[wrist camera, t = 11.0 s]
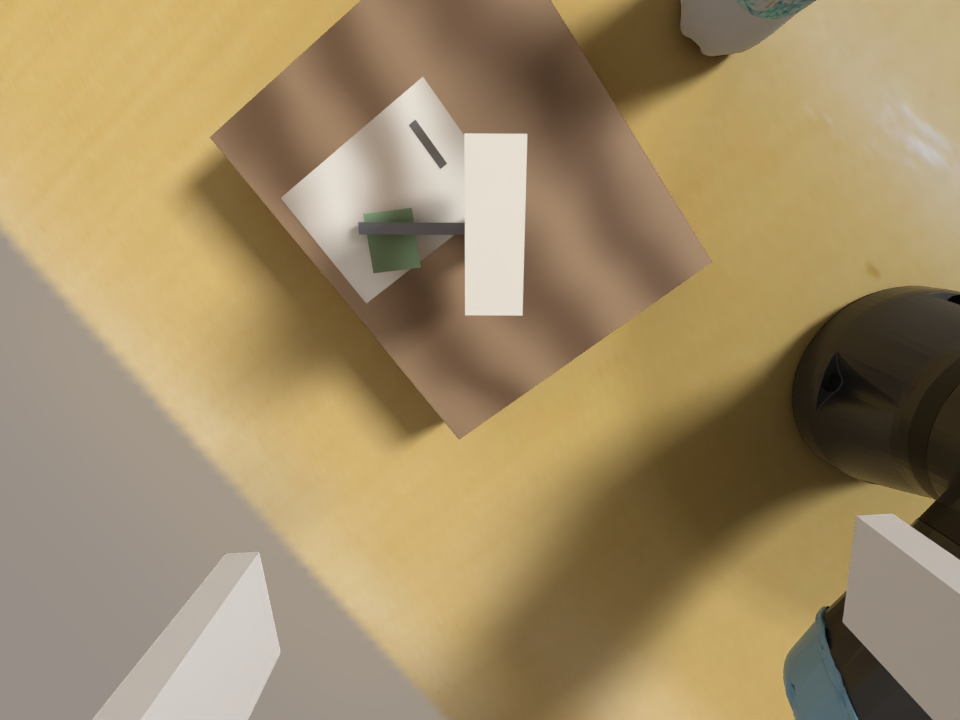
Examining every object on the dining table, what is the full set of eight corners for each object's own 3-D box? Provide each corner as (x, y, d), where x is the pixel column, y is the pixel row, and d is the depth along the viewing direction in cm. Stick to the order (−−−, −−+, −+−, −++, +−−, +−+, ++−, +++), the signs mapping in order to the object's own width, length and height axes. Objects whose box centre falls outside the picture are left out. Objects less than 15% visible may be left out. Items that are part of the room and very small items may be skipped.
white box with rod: (357, 167, 29) (290, 132, 19) (509, 167, 29) (527, 133, 19) (364, 286, 31) (306, 314, 20) (507, 286, 31) (522, 315, 21)
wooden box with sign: (482, -57, 31) (482, -111, 26) (680, 257, 36) (712, 261, 31) (248, 150, 34) (209, 137, 29) (461, 413, 39) (459, 439, 34)
